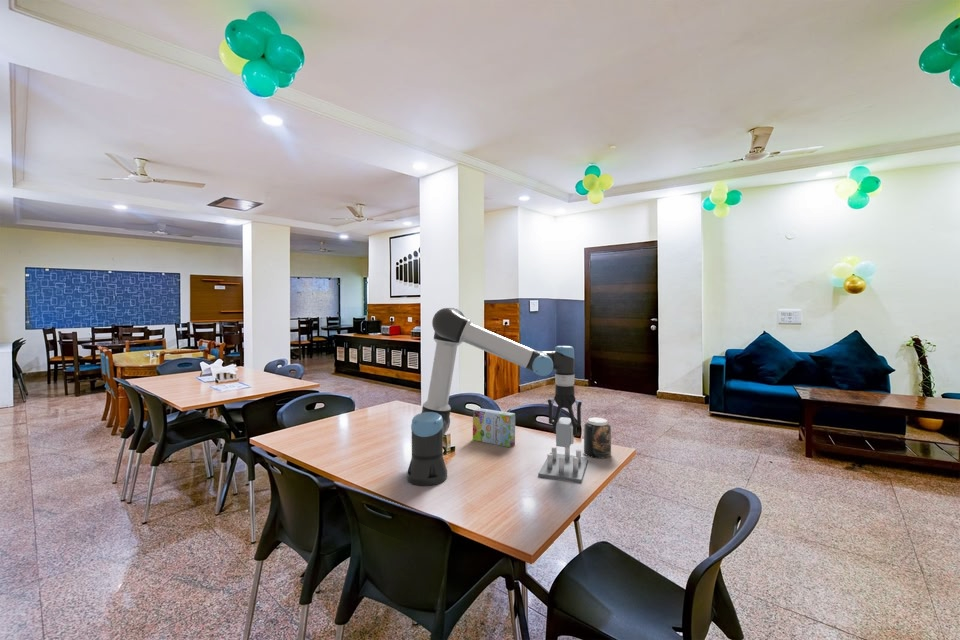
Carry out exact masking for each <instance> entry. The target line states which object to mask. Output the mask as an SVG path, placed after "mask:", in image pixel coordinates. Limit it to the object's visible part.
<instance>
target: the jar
mask: <svg viewBox="0 0 960 640" xmlns="http://www.w3.org/2000/svg"><path fill="white" fill-rule="evenodd" d="M583 428H584V429H583V453H584V454H585V455H586V454H587V456H588V455H589V456H588V457H591V456H592V457H591V458H595V457H597V458H596V459H607V457H608V458H610V457H611V455H612V428H611V425H610V424H608V420H607V419H606V418H603V417H596V416H595V417H589V418H588V419H587V422H585V423H584V427H583Z"/></svg>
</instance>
